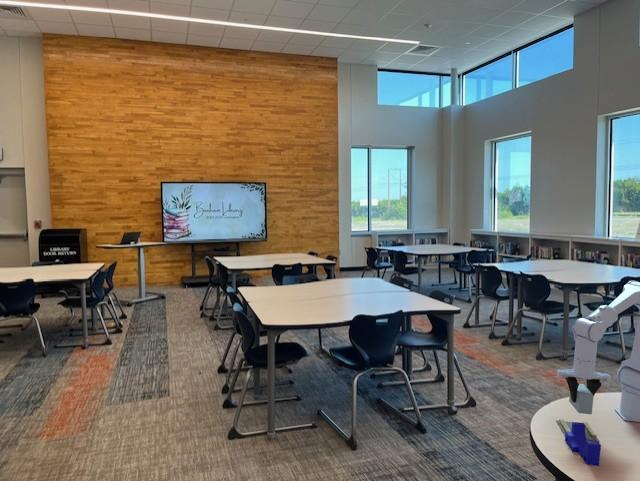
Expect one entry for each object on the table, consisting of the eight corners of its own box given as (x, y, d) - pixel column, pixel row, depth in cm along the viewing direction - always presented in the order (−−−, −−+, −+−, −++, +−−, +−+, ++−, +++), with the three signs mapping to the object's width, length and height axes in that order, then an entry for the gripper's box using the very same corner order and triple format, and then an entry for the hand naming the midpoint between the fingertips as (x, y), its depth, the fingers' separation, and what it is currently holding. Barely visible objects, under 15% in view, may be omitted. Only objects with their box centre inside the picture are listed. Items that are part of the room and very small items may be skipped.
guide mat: (587, 424, 146) (587, 424, 146) (599, 441, 137) (599, 440, 137) (556, 421, 148) (556, 420, 148) (565, 437, 139) (565, 436, 139)
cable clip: (564, 440, 137) (566, 421, 136) (581, 442, 136) (583, 422, 136) (580, 464, 125) (582, 443, 125) (598, 466, 125) (601, 445, 124)
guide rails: (586, 425, 146) (587, 422, 145) (596, 438, 138) (596, 435, 138) (559, 422, 147) (559, 419, 147) (566, 435, 139) (566, 431, 139)
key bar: (591, 414, 140) (593, 395, 139) (578, 413, 140) (580, 393, 139) (581, 402, 147) (583, 384, 147) (569, 401, 148) (570, 382, 147)
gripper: (605, 356, 145) (600, 398, 146) (554, 352, 147) (551, 393, 148) (615, 364, 138) (611, 408, 139) (562, 360, 140) (558, 403, 142)
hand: (580, 401), depth 143 cm, fingers closed on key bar, 4 cm apart
